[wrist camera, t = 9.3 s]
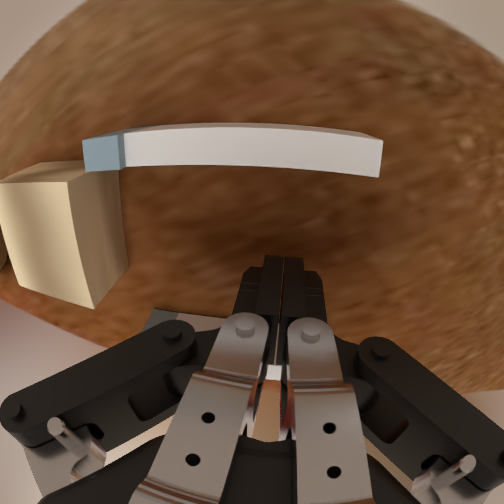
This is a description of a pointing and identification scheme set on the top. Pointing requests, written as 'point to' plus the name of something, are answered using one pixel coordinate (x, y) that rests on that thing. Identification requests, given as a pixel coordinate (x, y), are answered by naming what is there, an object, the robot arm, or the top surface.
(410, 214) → the top surface
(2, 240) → the squeeze bottle
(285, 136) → the corridor
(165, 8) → the top surface
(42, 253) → the maple block
